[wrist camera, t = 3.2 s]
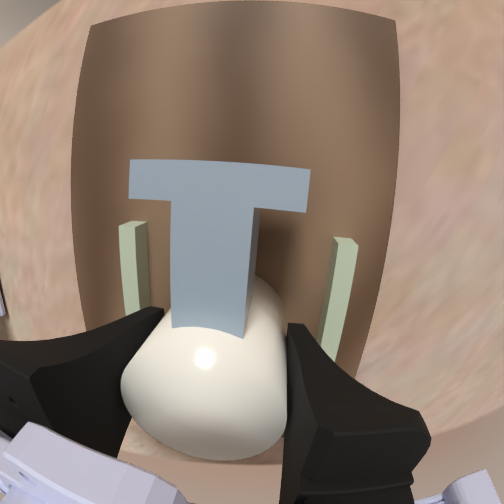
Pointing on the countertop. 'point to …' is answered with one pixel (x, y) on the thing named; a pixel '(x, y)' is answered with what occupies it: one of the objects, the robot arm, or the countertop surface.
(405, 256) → the countertop surface
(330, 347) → the cradle
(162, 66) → the board
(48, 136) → the countertop surface
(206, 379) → the white blue t-bar grip
